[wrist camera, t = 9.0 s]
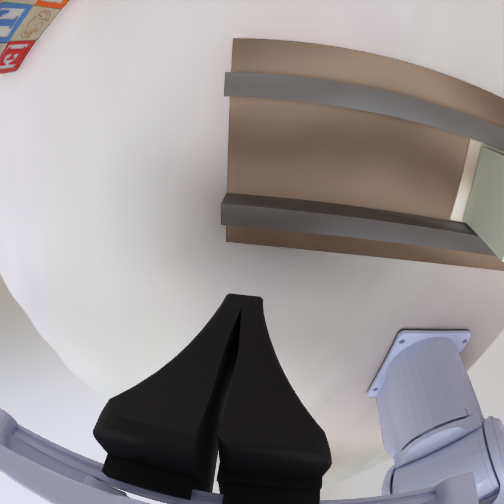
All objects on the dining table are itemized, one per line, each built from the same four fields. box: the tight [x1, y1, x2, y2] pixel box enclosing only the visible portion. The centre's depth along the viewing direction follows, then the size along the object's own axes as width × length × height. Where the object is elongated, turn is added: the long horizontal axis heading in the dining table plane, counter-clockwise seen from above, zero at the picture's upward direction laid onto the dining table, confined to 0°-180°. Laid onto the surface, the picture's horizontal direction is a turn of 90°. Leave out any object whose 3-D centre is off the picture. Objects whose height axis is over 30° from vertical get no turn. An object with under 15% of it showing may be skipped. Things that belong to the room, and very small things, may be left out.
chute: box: [221, 38, 504, 271], centre depth 15 cm, size 12×22×4 cm, turn 87°
